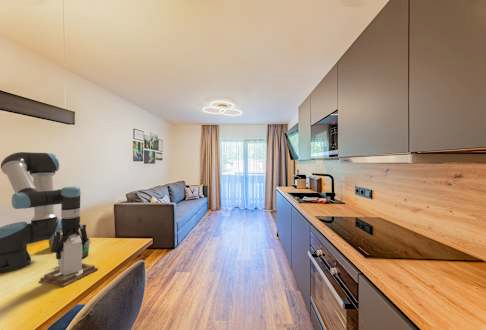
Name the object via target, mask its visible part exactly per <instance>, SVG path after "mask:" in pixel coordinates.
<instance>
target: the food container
mask: <svg viewBox="0 0 486 330" xmlns="http://www.w3.org/2000/svg"><path fill="white" fill-rule="evenodd" d="M87 239H88V242H85V245H84V250H82V260H83V259H85V258H88V256H89V252H90V251H89V250H90V244H91V243H92V242H91V239H90V238H89V237H87Z"/></svg>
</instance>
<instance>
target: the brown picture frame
mask: <svg viewBox="0 0 486 330" xmlns="http://www.w3.org/2000/svg"><path fill="white" fill-rule="evenodd" d="M97 271H99V269H98V267H95V265H94V264H93V265H92V264H88V263H83V262H82V269H81V270H80V271H77V272H74V273H71V274H68V275H65V276H64V275H63V274H62V273H60V272H59V268H57V269H55V270H53V271H50V272H48V273H46V274H44V275H43V277H40V281H41V282H45V283H48V284H52V285H55V286H56V285H57V286H60V287H63V288H64V287H67V286H69V285H71V284H73V283H75V282H77V281H78V280H81V279H83V278H85V277H87V276H89V275H91V274H93V273H95V272H97Z"/></svg>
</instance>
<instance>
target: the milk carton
mask: <svg viewBox="0 0 486 330" xmlns="http://www.w3.org/2000/svg"><path fill="white" fill-rule="evenodd" d="M80 236H81V234H80V235H78V236H77V235H76V234H74V235H71V236H69V237H68V238H67V240H66V242H64V245H63V249H62V252H63V265H62V266H61V265H58V266H59V268H58V269H59V272H60V273H62V274H63V275H64V276H65V275H68V274H71V273H74V272H77V271H80V270H81V269H82V263H83V262H82V260H83V259H82V241H81V238H80ZM62 237H63V236H62Z"/></svg>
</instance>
